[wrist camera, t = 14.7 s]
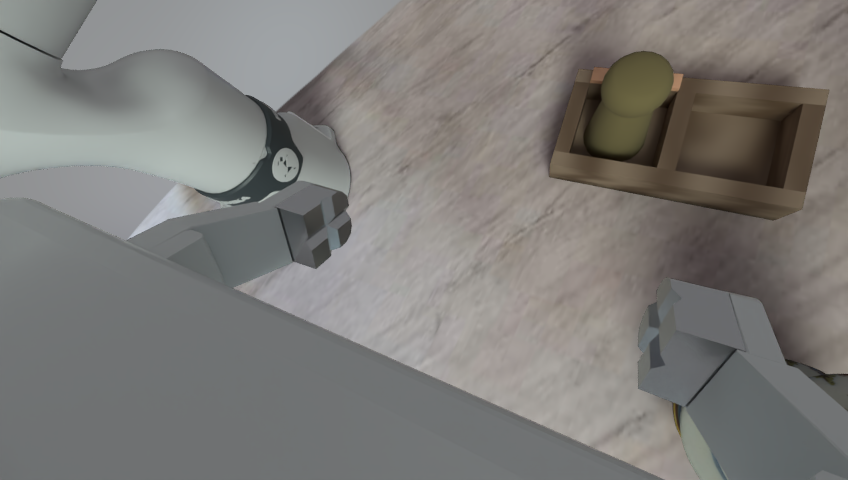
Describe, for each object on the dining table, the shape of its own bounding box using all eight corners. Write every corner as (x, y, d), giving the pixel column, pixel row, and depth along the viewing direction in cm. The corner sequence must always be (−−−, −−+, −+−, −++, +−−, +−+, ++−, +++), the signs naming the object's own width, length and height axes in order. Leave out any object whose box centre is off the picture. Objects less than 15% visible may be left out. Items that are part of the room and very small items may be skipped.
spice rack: (549, 177, 40) (550, 161, 36) (576, 86, 41) (580, 62, 37) (773, 220, 33) (806, 207, 29) (800, 109, 34) (834, 81, 30)
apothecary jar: (744, 322, 32) (970, 335, 15) (870, 453, 28) (1368, 667, 11) (628, 392, 34) (715, 472, 17) (730, 525, 30) (978, 803, 13)
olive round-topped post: (598, 104, 39) (620, 30, 29) (656, 121, 37) (701, 48, 26) (573, 151, 39) (585, 94, 29) (629, 171, 37) (664, 117, 26)
